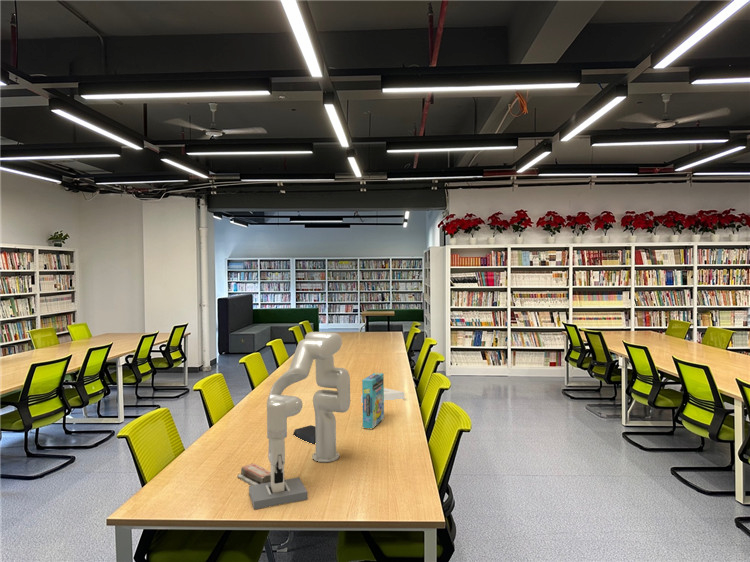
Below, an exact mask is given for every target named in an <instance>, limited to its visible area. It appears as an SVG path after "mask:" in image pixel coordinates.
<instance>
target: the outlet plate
mask: <svg viewBox="0 0 750 562" xmlns="http://www.w3.org/2000/svg"><path fill="white" fill-rule="evenodd" d="M248 494H249V498H250V502H251V501H252V502H251V505H252V509H253V510H255V509H256V510H260V508H261V509H265V507H266V508H269V506H271V507H276V506H275V505H277V506H280V505H279V504H282V505H285V504H284V503H287V504H291V503H290V502H292V503H297V501H298V502H302V501H307V499H308V496H309V495H308V490H307V488H306V487H305V485H304V483H303V481H302V479H301V478H300V477H299V476H297V477H292V478H287V479H284V491H282V492H277V493H273V492H272V490H271V482H268V483H263V484H257V485H248ZM256 510H255V511H256Z"/></svg>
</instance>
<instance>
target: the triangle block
mask: <svg viewBox="0 0 750 562" xmlns="http://www.w3.org/2000/svg"><path fill="white" fill-rule="evenodd" d="M395 399H404V400H405V391H401V390H396V389H392V388H387V387H384V401H385V400H395ZM361 403H363V399H362V394H361V395H360V404H361Z"/></svg>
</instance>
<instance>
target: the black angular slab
mask: <svg viewBox="0 0 750 562" xmlns="http://www.w3.org/2000/svg"><path fill="white" fill-rule="evenodd" d="M293 435H295V436H296V437H298V438H300V439H302V440H304V441H307V442H309V443H312V444H314V445H316V444H315V443H316V437H315V425H312V424H310V425H307V426H306V425H305V426H302V427H299V428H296V429H294V431H293V434H292V436H293ZM295 436H294V437H295ZM296 437H295V438H296ZM298 438H297V439H298ZM300 439H299V440H300ZM302 440H301V441H302ZM304 441H303V442H304ZM307 442H306V443H307ZM309 443H308V444H309ZM312 444H311V445H312Z"/></svg>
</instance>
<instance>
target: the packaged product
mask: <svg viewBox="0 0 750 562" xmlns="http://www.w3.org/2000/svg"><path fill="white" fill-rule="evenodd" d="M240 468H241V469H240V470H241V471H240V474H239V473H238V474H237V478H238V479H239V478H240V479H239V480H241V479H242V480H241V481H243V482H244V483H245V484H247V483H248V485H249V484H250V485H249V486H251V485H257V484H263V483H268V482H271V471H269V470H268V469H266V468H264V467H261V466H260V465H258V464H256V463H249V464H246V465H244V466H241V467H240Z"/></svg>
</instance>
